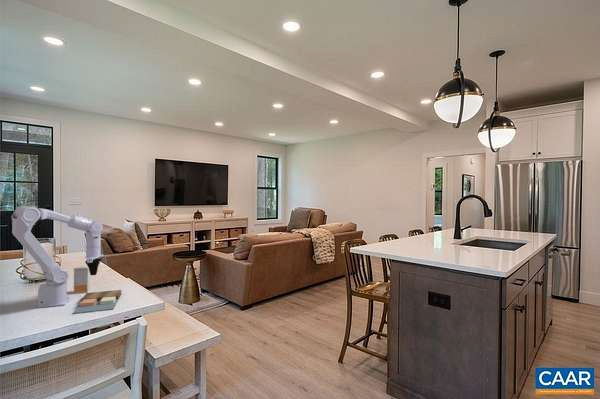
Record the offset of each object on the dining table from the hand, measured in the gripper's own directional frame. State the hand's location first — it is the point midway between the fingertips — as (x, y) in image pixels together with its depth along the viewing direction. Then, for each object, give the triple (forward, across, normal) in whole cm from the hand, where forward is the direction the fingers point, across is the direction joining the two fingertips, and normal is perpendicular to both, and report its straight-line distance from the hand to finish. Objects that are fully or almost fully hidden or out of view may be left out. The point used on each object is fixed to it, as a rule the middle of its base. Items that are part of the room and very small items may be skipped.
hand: (93, 274), depth 147 cm
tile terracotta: (+9, -15, -1) cm, 18 cm away
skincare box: (+10, +7, +6) cm, 13 cm away
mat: (+9, -18, -5) cm, 21 cm away
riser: (+9, -8, -5) cm, 13 cm away
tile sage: (+9, -15, -8) cm, 19 cm away
